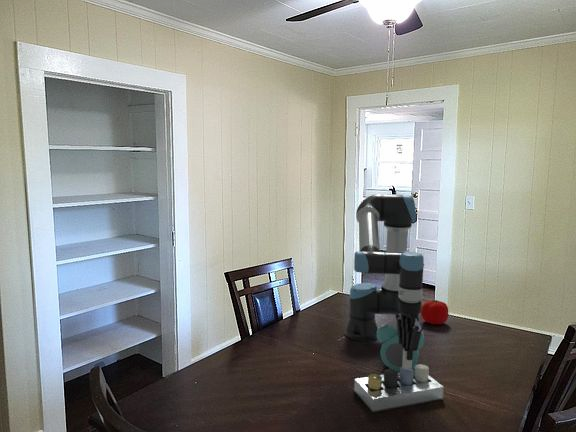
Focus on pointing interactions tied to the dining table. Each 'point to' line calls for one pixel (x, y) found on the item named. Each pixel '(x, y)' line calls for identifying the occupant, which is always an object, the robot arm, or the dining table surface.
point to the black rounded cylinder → (390, 378)
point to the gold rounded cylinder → (374, 382)
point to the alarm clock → (394, 346)
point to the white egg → (421, 373)
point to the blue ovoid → (406, 376)
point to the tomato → (434, 312)
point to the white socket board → (398, 394)
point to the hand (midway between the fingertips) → (406, 367)
